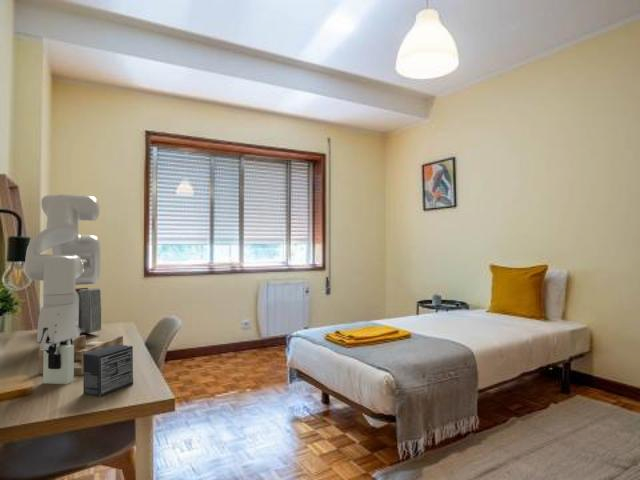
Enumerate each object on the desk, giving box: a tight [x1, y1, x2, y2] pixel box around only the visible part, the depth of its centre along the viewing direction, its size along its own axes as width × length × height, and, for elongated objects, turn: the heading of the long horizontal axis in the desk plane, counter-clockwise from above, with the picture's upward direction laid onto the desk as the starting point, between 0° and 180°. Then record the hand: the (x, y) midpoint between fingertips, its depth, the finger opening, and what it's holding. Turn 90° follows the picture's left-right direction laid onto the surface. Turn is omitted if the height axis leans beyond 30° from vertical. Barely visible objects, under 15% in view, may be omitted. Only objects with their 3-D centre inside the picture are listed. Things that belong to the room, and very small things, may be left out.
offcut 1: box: [75, 349, 85, 361], centre depth 135 cm, size 4×5×3 cm
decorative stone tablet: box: [75, 287, 102, 335], centre depth 176 cm, size 19×6×30 cm
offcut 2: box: [85, 341, 104, 349], centre depth 134 cm, size 4×7×2 cm, turn 84°
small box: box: [82, 344, 134, 398], centre depth 107 cm, size 11×6×10 cm, turn 157°
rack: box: [38, 334, 124, 376], centre depth 128 cm, size 20×14×7 cm
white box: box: [42, 345, 75, 385], centre depth 112 cm, size 2×7×10 cm, turn 86°
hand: (58, 366), depth 112 cm, fingers closed on white box, 2 cm apart
